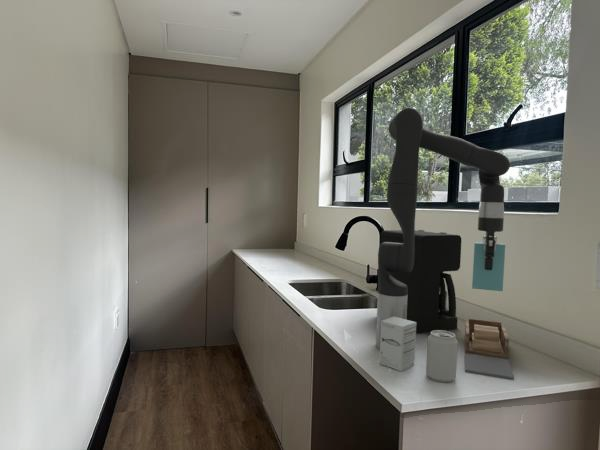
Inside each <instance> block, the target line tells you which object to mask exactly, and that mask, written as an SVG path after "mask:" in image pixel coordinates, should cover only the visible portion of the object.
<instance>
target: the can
mask: <svg viewBox="0 0 600 450" xmlns="http://www.w3.org/2000/svg"><path fill="white" fill-rule="evenodd" d="M429 333H430V335H428V336H427V345H426V346H427V347H426V366H425V367H426V368H425V374H426V375H427V376H428V377H429V379H431V380H433V381H435V382H439V383H450V382H452V381H453V380H455V379H457V366H458V365H457V364H458V346H459V345H458V344H459V341H458V340H457V338H456V334H455V333H454V332H451V331H448V330H434V331H431V332H429Z"/></svg>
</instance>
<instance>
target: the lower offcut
mask: <svg viewBox="0 0 600 450" xmlns="http://www.w3.org/2000/svg"><path fill="white" fill-rule="evenodd" d="M500 348H501V342H500V338H499V342H493V341H486V340H479V339H474V333H472V349H478V350H485V351H492V352H499V353H500Z"/></svg>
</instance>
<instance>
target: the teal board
mask: <svg viewBox="0 0 600 450" xmlns="http://www.w3.org/2000/svg"><path fill="white" fill-rule="evenodd" d="M473 244H474V247H473V267H472V284H471V289H475V290H485V291H495V292H503V288H504V273H505V257H506V244H505V243H496V249H495V251H494V258H493V265H492V270H485V251H484V242H476V241H475V242H474V243H473ZM487 253H492V251H488V252H487Z"/></svg>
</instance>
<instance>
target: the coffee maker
mask: <svg viewBox="0 0 600 450" xmlns="http://www.w3.org/2000/svg"><path fill="white" fill-rule="evenodd" d="M383 242H393V243H404V238H403V233H402V230H401V229H400V230H396V229H395V230H394V229H393V230H392V229H391V230H385V229H384V230H382V231H381V233H380V244H381V243H383ZM461 257H462V237H461V235H459V234H452V233H451V234H450V233H448V232H441V231H439V232H435V231H434V232H433V231H425V230H424V229H423V230H422V229H418V230H415V253H414V266H413V269H412V271H411V272H410V273H400V272H390V274H391V276H392V277H393V278H395V279H396V280H398V281H400V282H402V283H404V284H406V285H407V286H408V300H407V320H410V321H414V322H417V324H416V334H418V335H420V334H427V333H430V332H431V331H434V330H444V331H448V330H457V329H458V317H457V300H456V298H457V297H456V290H455V284H454V281H453V277H452V275H451V273H446V272H456V271H459V270H460V268H461V260H462V259H461ZM446 289H447V290H446Z"/></svg>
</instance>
